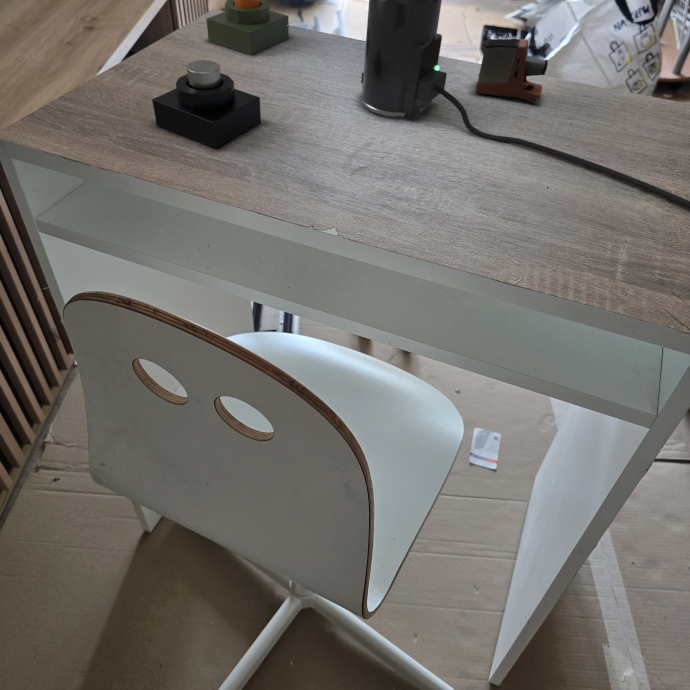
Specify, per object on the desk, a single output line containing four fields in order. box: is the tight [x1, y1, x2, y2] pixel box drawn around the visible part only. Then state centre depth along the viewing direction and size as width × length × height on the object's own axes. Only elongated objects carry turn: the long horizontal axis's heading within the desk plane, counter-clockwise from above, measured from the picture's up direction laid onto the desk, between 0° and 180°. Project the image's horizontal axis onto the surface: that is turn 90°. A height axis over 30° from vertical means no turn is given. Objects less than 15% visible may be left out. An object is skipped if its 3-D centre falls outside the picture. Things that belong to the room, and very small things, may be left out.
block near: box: [151, 72, 262, 150], centre depth 77 cm, size 10×9×6 cm
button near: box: [186, 59, 221, 91], centre depth 74 cm, size 4×4×2 cm
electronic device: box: [475, 38, 549, 105], centre depth 88 cm, size 4×10×8 cm, turn 74°
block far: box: [205, 0, 290, 56], centre depth 98 cm, size 10×9×6 cm
